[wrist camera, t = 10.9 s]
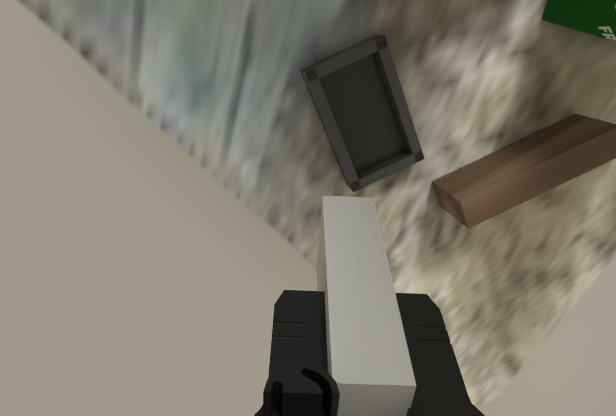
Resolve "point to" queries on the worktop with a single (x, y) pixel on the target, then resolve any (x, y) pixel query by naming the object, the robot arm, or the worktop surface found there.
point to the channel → (526, 168)
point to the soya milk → (584, 16)
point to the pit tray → (364, 112)
